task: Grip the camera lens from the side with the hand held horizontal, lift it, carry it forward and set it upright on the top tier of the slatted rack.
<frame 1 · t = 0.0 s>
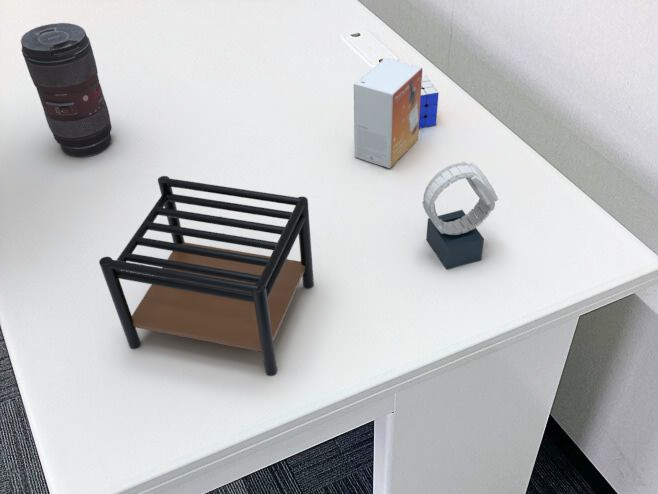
watch: (453, 250, 85), on the table
rubik's cube: (413, 120, 104), on the table
camera lens: (87, 144, 101), on the table
slatted rack: (224, 313, 79), on the table
small box: (386, 150, 99), on the table
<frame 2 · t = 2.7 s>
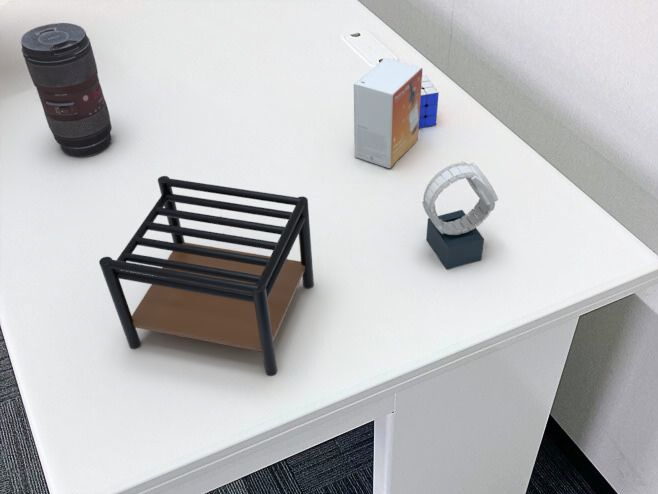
nothing on the table moved.
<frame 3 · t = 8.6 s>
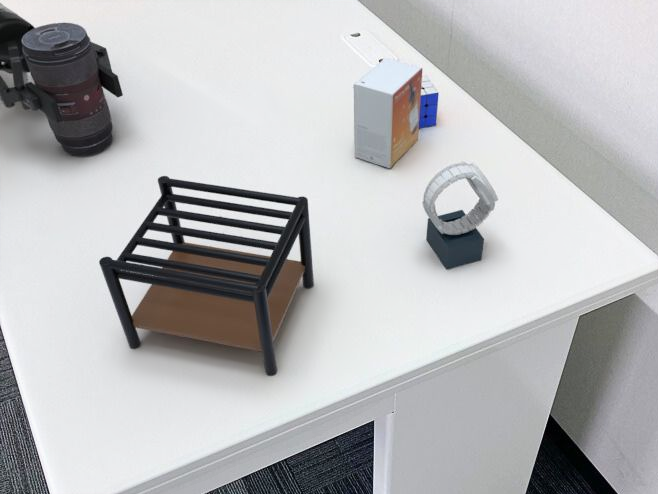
hand: (87, 99, 92), 8 cm above the table, tool horizontal, fingers closed on camera lens, 8 cm apart
camera lens: (88, 144, 101), on the table, touching gripper
everything else where it was.
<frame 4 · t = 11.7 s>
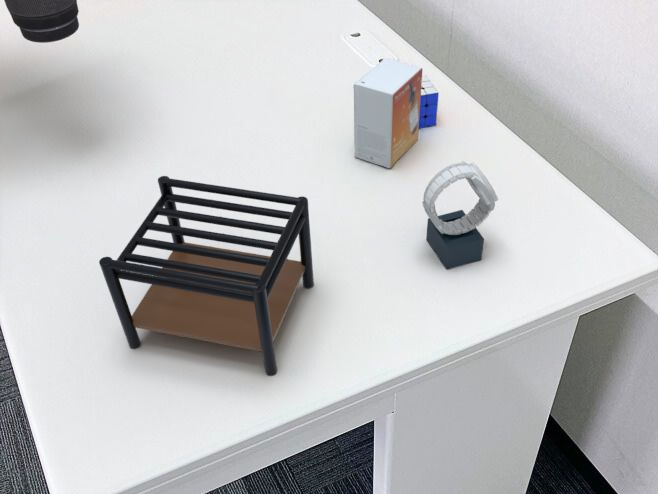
camera lens: (52, 31, 89), point 15 cm above the table, touching gripper
everything else where it was.
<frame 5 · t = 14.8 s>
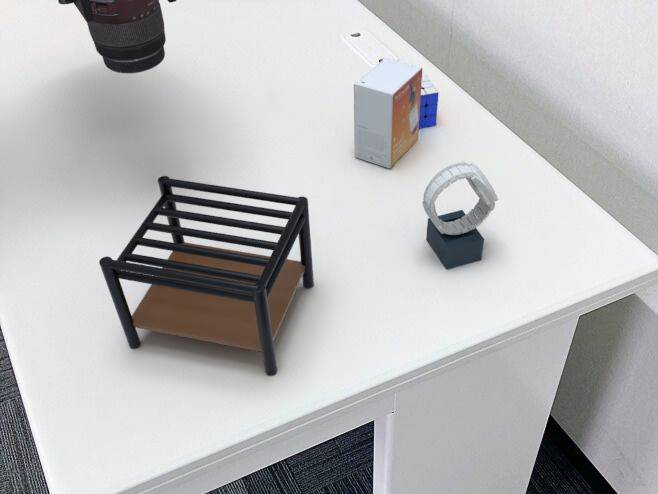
camera lens: (136, 60, 82), point 16 cm above the table, touching gripper
everything else where it was.
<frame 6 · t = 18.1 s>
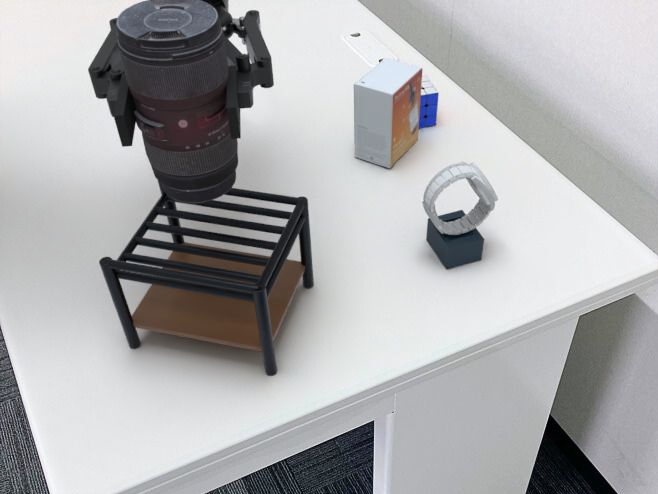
hand: (178, 127, 58), 25 cm above the table, tool horizontal, fingers closed on camera lens, 8 cm apart
camera lens: (200, 183, 67), point 16 cm above the table, touching gripper
everything else where it was.
when the fingers open (18 cm above the table, at t = 20.9 s): camera lens stays where it is, resting on slatted rack.
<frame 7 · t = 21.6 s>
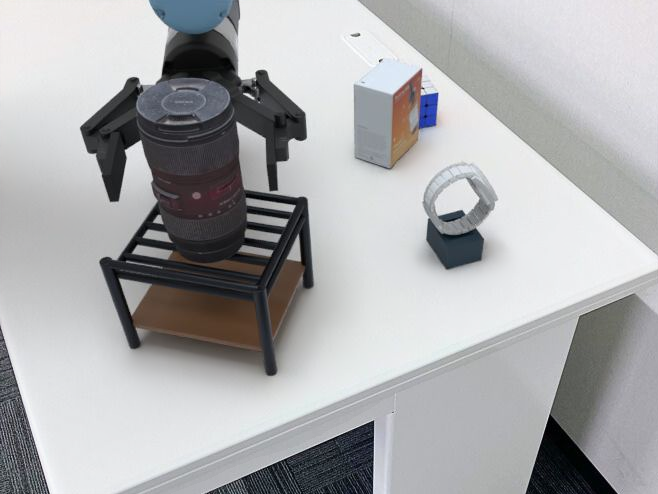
hand: (191, 183, 62), 19 cm above the table, tool horizontal, fingers open, 13 cm apart
camera lens: (211, 242, 72), point 10 cm above the table, touching slatted rack
everything else where it was.
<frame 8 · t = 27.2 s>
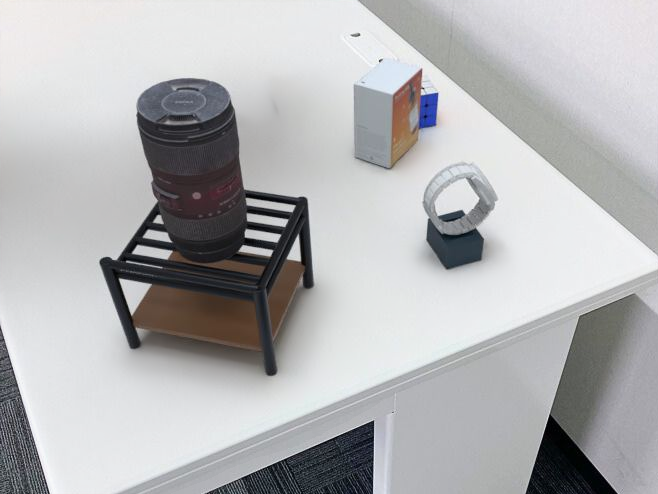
nothing on the table moved.
at the end: camera lens inside the target area on the slatted rack (0.2 cm from its centre), point 9.8 cm above the slatted rack's base; camera lens tilted 0°; the gripper is holding nothing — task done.
